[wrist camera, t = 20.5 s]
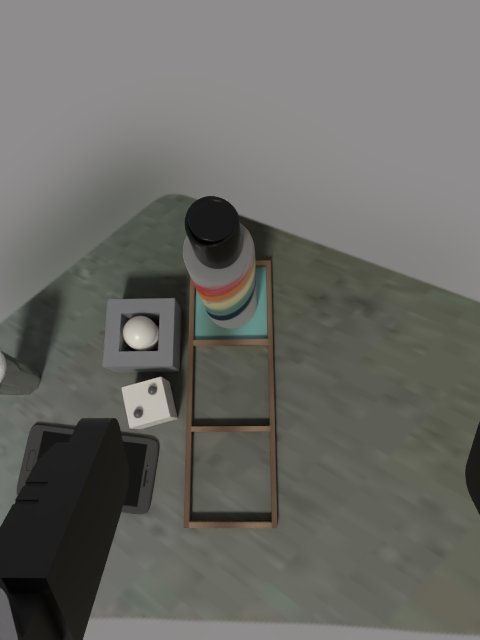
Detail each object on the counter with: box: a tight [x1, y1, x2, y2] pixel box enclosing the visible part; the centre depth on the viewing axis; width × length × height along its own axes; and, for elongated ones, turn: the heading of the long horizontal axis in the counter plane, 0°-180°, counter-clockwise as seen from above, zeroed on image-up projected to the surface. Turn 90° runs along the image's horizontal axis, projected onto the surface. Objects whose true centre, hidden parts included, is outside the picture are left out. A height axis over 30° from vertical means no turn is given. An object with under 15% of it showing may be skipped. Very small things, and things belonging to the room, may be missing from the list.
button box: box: [103, 298, 182, 373], centre depth 47 cm, size 7×7×4 cm
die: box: [122, 377, 178, 429], centre depth 45 cm, size 4×4×5 cm
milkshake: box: [0, 350, 40, 395], centre depth 44 cm, size 4×5×10 cm
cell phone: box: [17, 425, 159, 514], centre depth 46 cm, size 7×14×1 cm, turn 83°
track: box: [184, 260, 277, 528], centre depth 47 cm, size 9×28×1 cm, turn 0°
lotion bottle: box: [183, 196, 257, 329], centre depth 40 cm, size 6×6×20 cm
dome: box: [123, 316, 159, 351], centre depth 46 cm, size 3×3×5 cm
